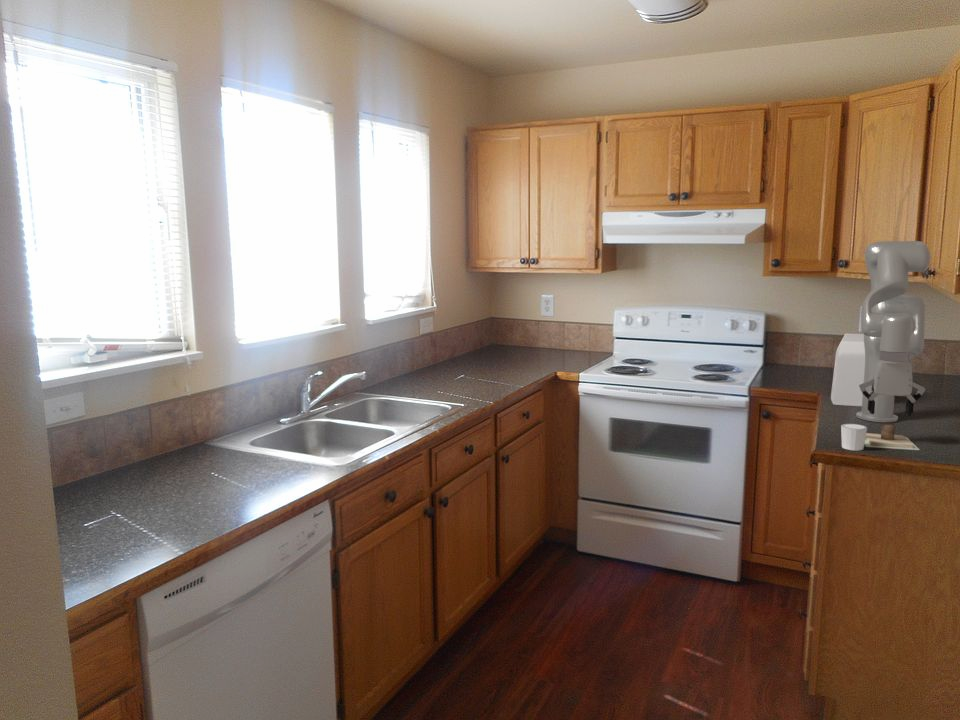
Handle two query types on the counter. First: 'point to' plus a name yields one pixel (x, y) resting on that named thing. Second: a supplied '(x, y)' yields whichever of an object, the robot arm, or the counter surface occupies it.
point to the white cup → (853, 436)
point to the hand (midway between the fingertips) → (889, 414)
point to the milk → (849, 371)
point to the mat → (891, 447)
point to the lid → (888, 438)
